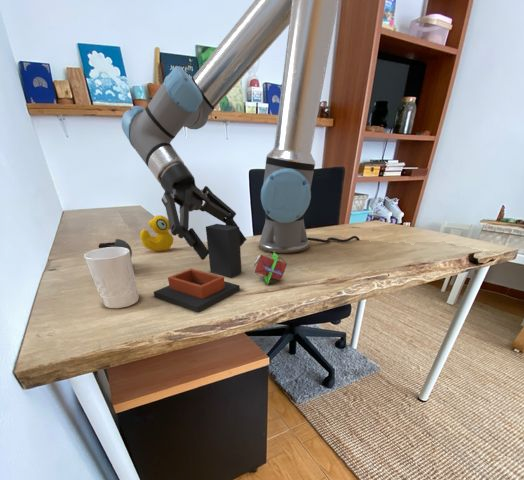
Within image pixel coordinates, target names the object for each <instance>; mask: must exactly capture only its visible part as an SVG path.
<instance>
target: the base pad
mask: <svg viewBox="0 0 524 480" xmlns="http://www.w3.org/2000/svg"><path fill="white" fill-rule="evenodd" d="M167 282H168V285H167V286H164V287H161V288H159V289H157V290H155V291H153V297H154V298H157V299H160V300H162V301H165V302H168V303H170V304H173V305H176V306H179V307H182V308H184V309H187V310H190V311H193V312H196V313H200V312H202V311H204V310H206V309H207V308H209V307H211V306H213V305H216V304H217V303H219V302H221V301H223V300H224V299H226V298H229V297H230V296H232V295H234V294H236V293H237V292H239V291H241V287H240V284H236V283H233V282H228V281H226V280H225V276H222V275H219V274H215V273H211V272H206V271H202V270H199V269H196V268H195V269H194V268H189V269H187V270H186V269H185V270H184V271H180V272H179V273H175V274H173V275H170V276H168V277H167Z"/></svg>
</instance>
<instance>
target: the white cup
mask: <svg viewBox="0 0 524 480" xmlns="http://www.w3.org/2000/svg"><path fill="white" fill-rule="evenodd" d="M83 258H84V261H85V263H86V266H87V268H88V270H89V271H88V272H89V273H90V276H91V278H92V281H93V283H94V286H95V288H96V290H97V292H98V294H99V296H100V298H101V301H102V303H103V306H105V307H106V308H109V309H121V308H126V307H130V306H133V305H134V304H136V303H138V302H139V297H140V295H139V292H138V287H137V280H136V275H135V270H134V265H133V260H132V257H131V255H130V251H129V249H127V248H123V247H107V248H97V249H92V250H89V251H87V252H85V253H84V254H83Z"/></svg>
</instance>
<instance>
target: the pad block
mask: <svg viewBox="0 0 524 480" xmlns="http://www.w3.org/2000/svg"><path fill="white" fill-rule="evenodd" d="M239 229H240V227H239V226H238V227H235V226H228V225H226V224H221V223H215V224H210V225H208V226H207V225H206V226H205V234H206V242H207V249H208V251H209V252H210V253H209V254H208V261H209V262H208V263H209V270H210V272H209V273H211V274H215V275H218V276H222V277H228V278H231V279H232V278H233V277H237V276H239V275H240V274H242V255H241V246H240V231H241V230H240V231H239Z"/></svg>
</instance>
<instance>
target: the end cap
mask: <svg viewBox="0 0 524 480" xmlns="http://www.w3.org/2000/svg"><path fill="white" fill-rule="evenodd" d="M97 247H98V249H100V248H107V247H123V248H127V249H129V251H130V255H131V258H132V256H133V250H132V247H131V246H130V245H129V243H128V242H126V241H125V240H123V239H120V238H116V239H115V241H112V242H103V243H102V242H100V243H99V244H98V246H97Z"/></svg>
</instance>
